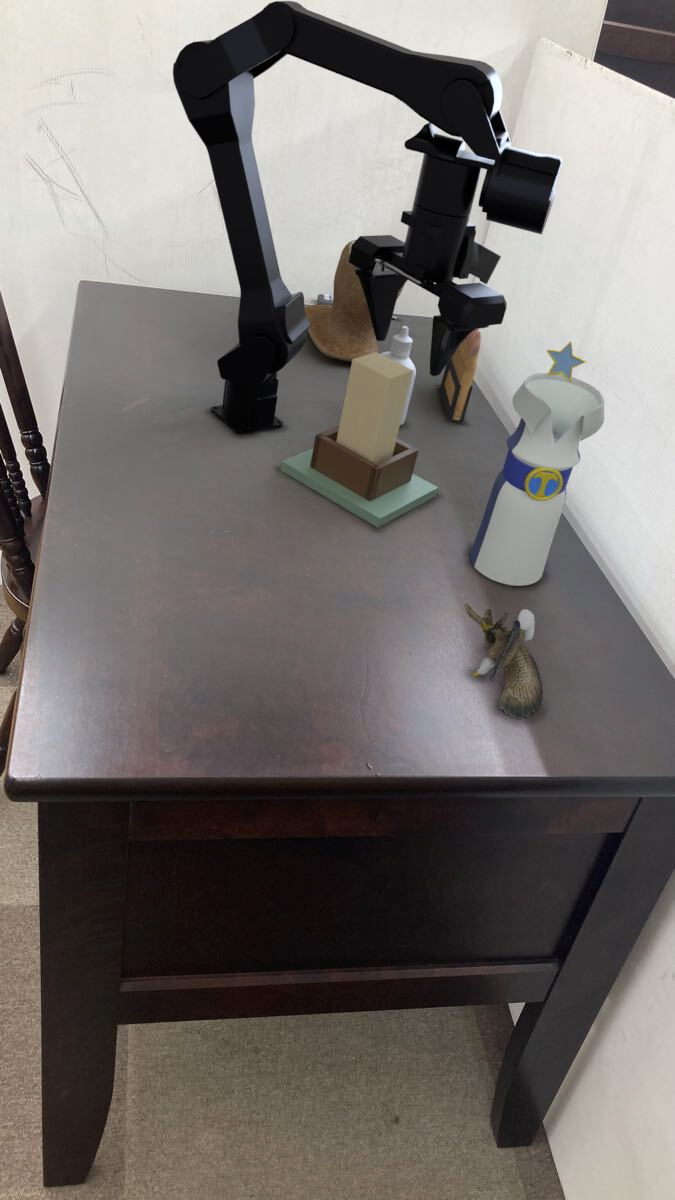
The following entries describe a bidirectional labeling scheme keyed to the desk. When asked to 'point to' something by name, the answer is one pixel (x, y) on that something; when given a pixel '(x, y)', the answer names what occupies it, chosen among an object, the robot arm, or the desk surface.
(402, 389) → the tan rectangular block
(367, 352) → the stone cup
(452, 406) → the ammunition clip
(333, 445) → the seat base
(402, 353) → the eye dropper bottle
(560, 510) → the white superhero chess piece
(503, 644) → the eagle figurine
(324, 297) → the key chain
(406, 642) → the desk surface
